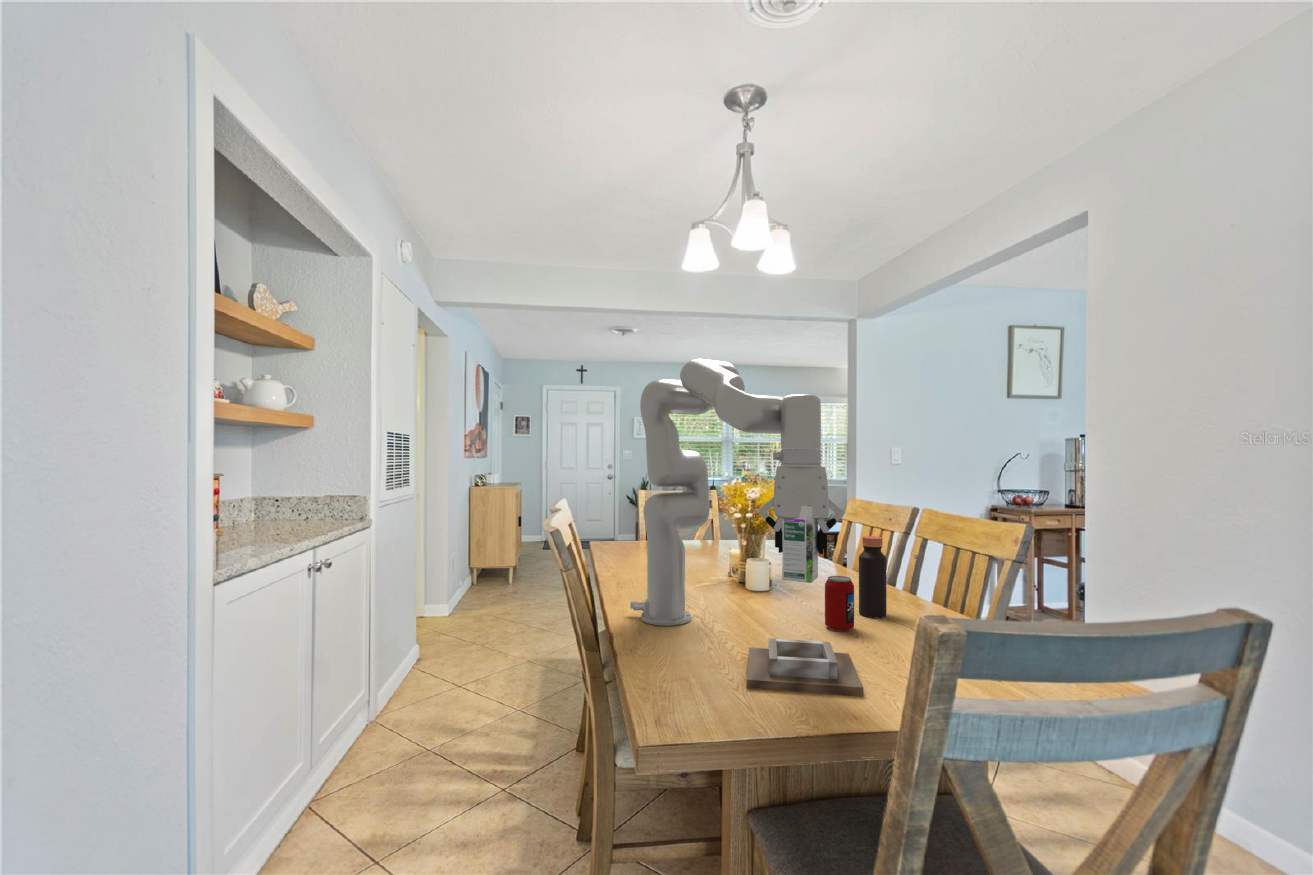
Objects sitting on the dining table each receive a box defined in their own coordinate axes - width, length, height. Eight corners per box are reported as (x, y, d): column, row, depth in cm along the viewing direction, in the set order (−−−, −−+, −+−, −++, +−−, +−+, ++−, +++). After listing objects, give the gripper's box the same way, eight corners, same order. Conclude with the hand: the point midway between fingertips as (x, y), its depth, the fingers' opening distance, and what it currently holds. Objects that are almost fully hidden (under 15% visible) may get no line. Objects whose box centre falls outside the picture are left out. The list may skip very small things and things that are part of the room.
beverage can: (858, 632, 142) (857, 581, 142) (829, 632, 142) (828, 580, 143) (849, 624, 149) (849, 575, 149) (821, 624, 149) (821, 575, 149)
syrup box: (781, 580, 115) (781, 503, 115) (789, 574, 120) (789, 501, 121) (811, 583, 112) (811, 505, 113) (818, 577, 118) (819, 502, 118)
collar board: (746, 688, 109) (746, 662, 109) (748, 654, 126) (748, 633, 127) (863, 696, 105) (863, 670, 105) (848, 660, 123) (848, 638, 123)
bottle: (889, 613, 159) (888, 536, 159) (883, 619, 153) (883, 540, 153) (862, 610, 162) (862, 534, 163) (855, 615, 157) (855, 537, 157)
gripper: (754, 459, 115) (754, 554, 114) (850, 459, 112) (850, 557, 111) (754, 458, 122) (754, 547, 122) (844, 459, 119) (844, 550, 119)
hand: (800, 551), depth 116 cm, fingers closed on syrup box, 6 cm apart
